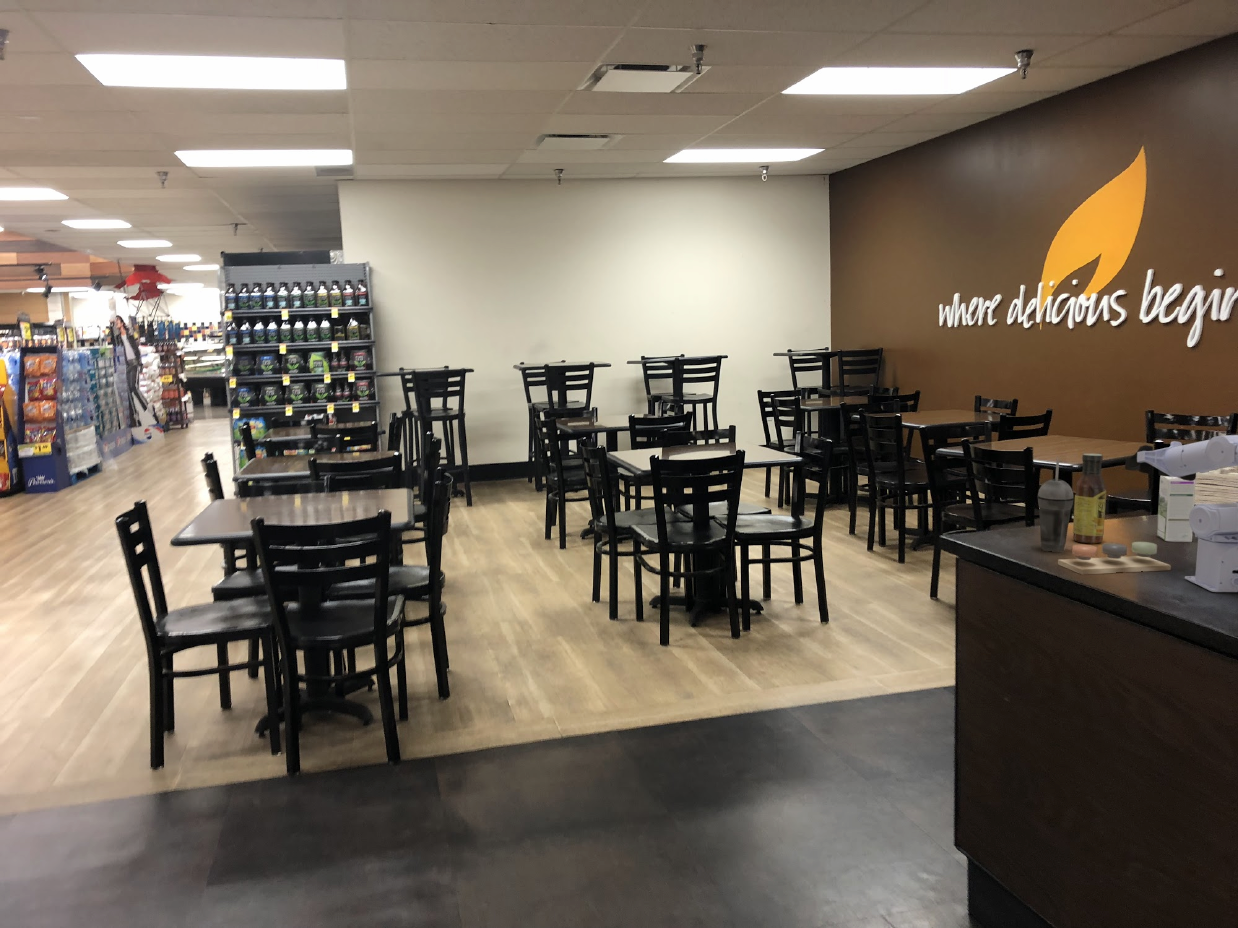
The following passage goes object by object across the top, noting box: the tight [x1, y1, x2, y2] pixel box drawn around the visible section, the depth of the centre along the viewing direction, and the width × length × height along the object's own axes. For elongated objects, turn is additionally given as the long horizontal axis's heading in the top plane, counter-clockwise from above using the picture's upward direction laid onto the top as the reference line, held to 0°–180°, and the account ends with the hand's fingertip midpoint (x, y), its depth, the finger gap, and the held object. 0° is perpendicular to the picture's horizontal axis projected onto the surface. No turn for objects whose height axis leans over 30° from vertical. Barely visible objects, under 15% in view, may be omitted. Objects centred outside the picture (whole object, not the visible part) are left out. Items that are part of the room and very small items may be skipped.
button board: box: [1057, 555, 1172, 576], centre depth 189 cm, size 19×8×1 cm, turn 97°
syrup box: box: [1156, 475, 1197, 543], centre depth 211 cm, size 6×6×14 cm
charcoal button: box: [1101, 542, 1128, 559], centre depth 188 cm, size 4×4×2 cm
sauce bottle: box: [1072, 453, 1107, 544], centre depth 210 cm, size 7×6×20 cm
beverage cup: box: [1037, 458, 1075, 553], centre depth 202 cm, size 7×7×20 cm
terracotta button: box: [1071, 543, 1098, 560], centre depth 187 cm, size 4×4×2 cm
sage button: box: [1131, 541, 1158, 558], centre depth 189 cm, size 4×4×2 cm
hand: (1143, 467), depth 193 cm, fingers open, 7 cm apart
